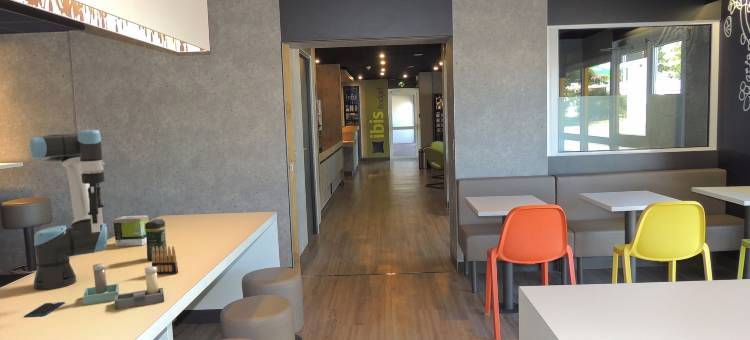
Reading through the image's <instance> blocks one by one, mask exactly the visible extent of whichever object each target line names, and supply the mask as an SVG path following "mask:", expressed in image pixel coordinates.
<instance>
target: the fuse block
mask: <svg viewBox="0 0 750 340" xmlns="http://www.w3.org/2000/svg"><path fill="white" fill-rule="evenodd" d="M158 292H159V293H157V294H151V295H147V289H144V290H138V291H132V292H126V293H125V292H124V293H119V294H117V295H115V300H114V307H115V308H114V310H121V309H122V310H123V309H127V308H134V307H139V306H140V307H141V306H147V305H152V304H158V303H164V302H165V297H164V296H165V295H164V288H163V287H158Z"/></svg>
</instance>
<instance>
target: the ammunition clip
mask: <svg viewBox="0 0 750 340" xmlns="http://www.w3.org/2000/svg"><path fill="white" fill-rule="evenodd" d="M152 266H155V267H157V276H158V275H177V274H178V273H179V268H178V261H177V255H176V249H175V246H174V245H172V247H171V246H170V245H168V247H167V250H166V247H165V246H164V255H163V249H162V247H160V255H159V249H158V247H156V255H155V249H154V247H152V260H151V267H152Z"/></svg>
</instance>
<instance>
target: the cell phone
mask: <svg viewBox="0 0 750 340" xmlns="http://www.w3.org/2000/svg"><path fill="white" fill-rule="evenodd" d="M64 304H66V302H65V301H58V302H55V301H54V302H45V303H43V304H41V305H39V306H38V307H36V308H34V309H33V310H32V311H29V312H27V314H25V315H23V317H24V318H36V317H37V318H38V317H39V318H40V317H41V318H42V317H46V316H47V315H49V314H50V313H53V312H54V311H55V310H57V309H59V308H60V307H62V306H63V305H64Z"/></svg>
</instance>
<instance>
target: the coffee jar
mask: <svg viewBox="0 0 750 340" xmlns="http://www.w3.org/2000/svg"><path fill="white" fill-rule="evenodd" d="M145 231H146V238H147V243H146V258H147V260H149V261H152V247H154V249H155V255H156V247H158V249H159V255H160V247H162V249H163V255H164V246H165V247H166V250H167V251H168V247H167V240H166V239H167V238H166V221H165V220H164V219H162V218H154V219H151V220H149V222H147V223H146V224H145Z"/></svg>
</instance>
